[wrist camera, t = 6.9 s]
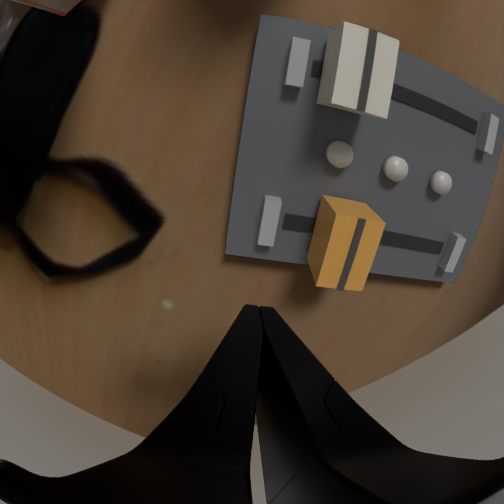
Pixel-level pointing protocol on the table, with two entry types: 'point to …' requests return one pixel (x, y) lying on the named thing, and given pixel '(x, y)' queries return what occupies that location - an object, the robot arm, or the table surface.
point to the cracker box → (52, 5)
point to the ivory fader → (358, 71)
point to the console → (361, 158)
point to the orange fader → (344, 243)
